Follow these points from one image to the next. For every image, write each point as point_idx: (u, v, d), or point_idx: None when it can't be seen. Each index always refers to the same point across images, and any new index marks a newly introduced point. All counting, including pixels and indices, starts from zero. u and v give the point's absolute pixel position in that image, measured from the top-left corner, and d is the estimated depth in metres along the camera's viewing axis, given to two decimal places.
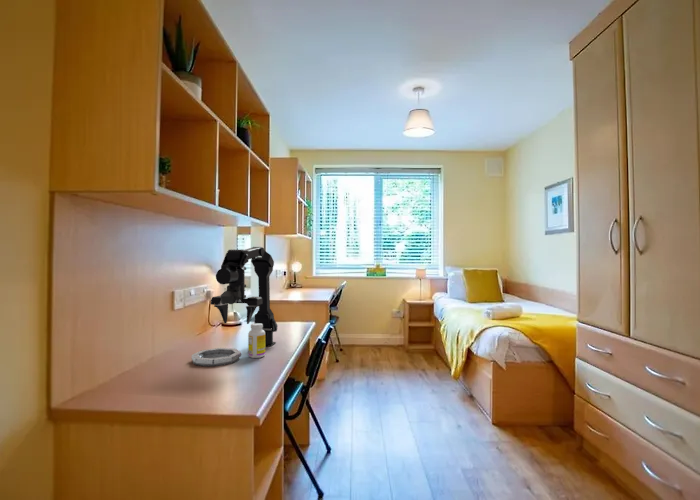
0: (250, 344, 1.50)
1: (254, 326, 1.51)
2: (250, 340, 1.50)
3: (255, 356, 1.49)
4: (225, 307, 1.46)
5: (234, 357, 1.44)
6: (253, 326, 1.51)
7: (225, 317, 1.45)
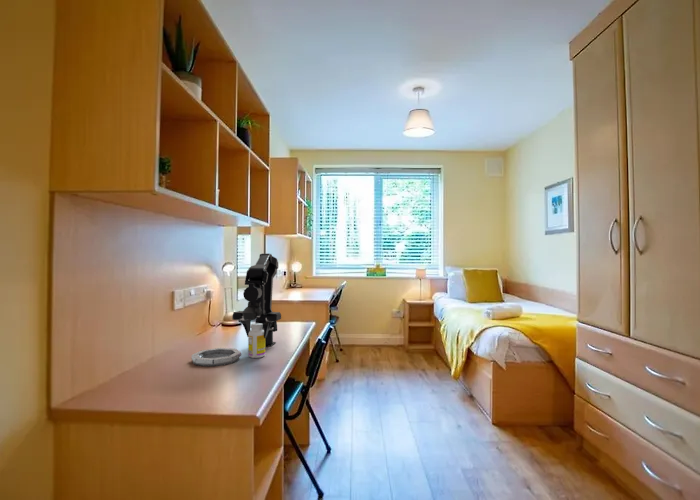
0: (250, 344, 1.50)
1: (254, 326, 1.51)
2: (250, 340, 1.50)
3: (255, 356, 1.49)
4: (248, 322, 1.54)
5: (234, 357, 1.44)
6: (253, 326, 1.51)
7: (248, 331, 1.53)
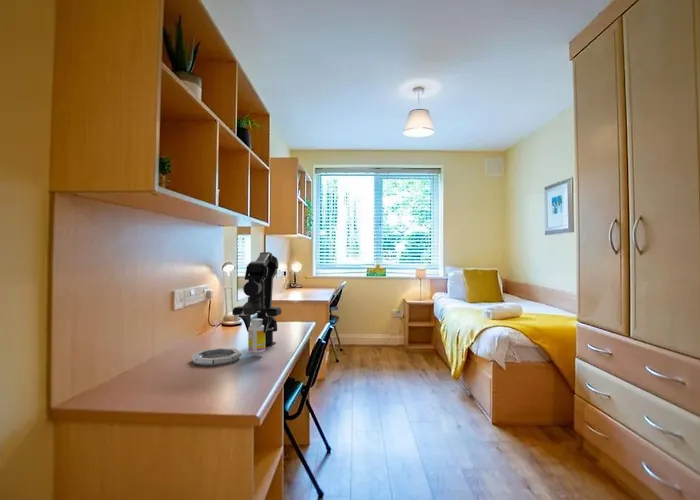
0: (250, 339, 1.50)
1: (254, 321, 1.50)
2: (250, 335, 1.50)
3: (255, 351, 1.49)
4: (248, 317, 1.54)
5: (234, 357, 1.44)
6: (253, 321, 1.51)
7: (248, 326, 1.53)
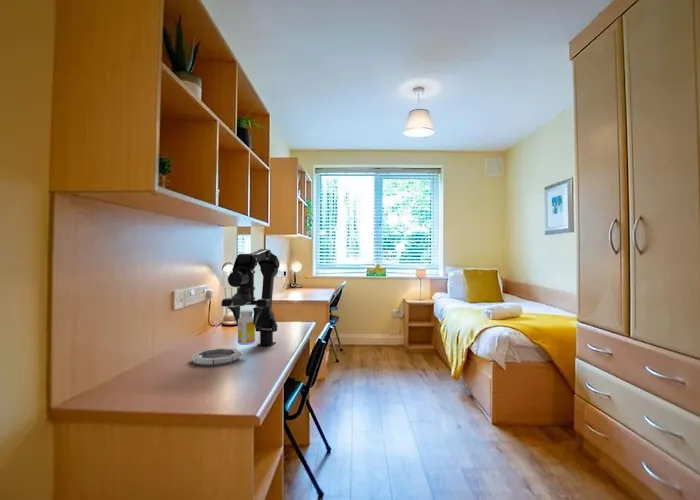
0: (239, 331, 1.48)
1: (244, 313, 1.49)
2: (239, 326, 1.48)
3: (244, 343, 1.48)
4: (238, 309, 1.53)
5: (234, 357, 1.44)
6: (243, 313, 1.49)
7: (238, 318, 1.52)
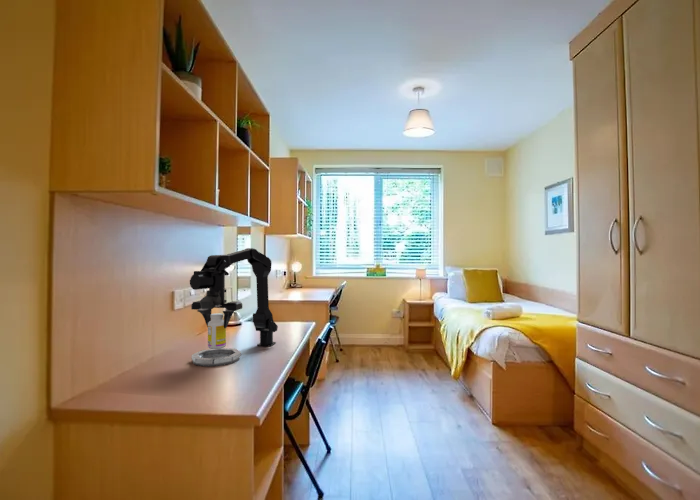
0: (209, 334, 1.45)
1: (213, 316, 1.45)
2: (209, 330, 1.45)
3: (214, 347, 1.44)
4: (208, 312, 1.49)
5: (234, 357, 1.44)
6: (212, 316, 1.45)
7: (208, 321, 1.48)
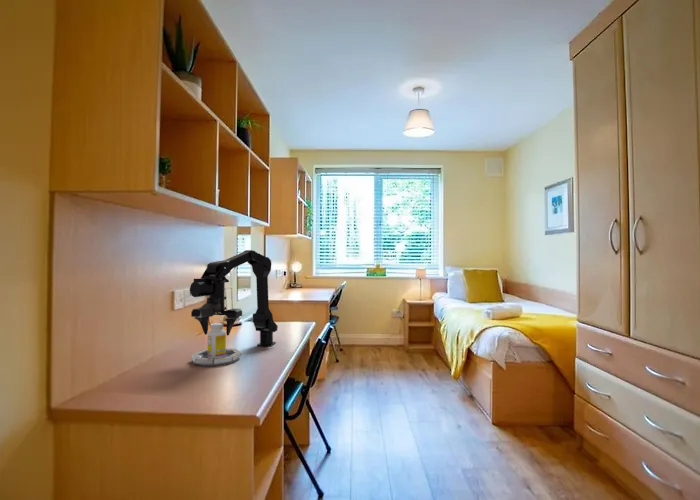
0: (209, 344, 1.45)
1: (213, 326, 1.45)
2: (209, 340, 1.45)
3: (214, 357, 1.44)
4: (206, 319, 1.49)
5: (234, 357, 1.44)
6: (212, 326, 1.45)
7: (205, 329, 1.48)
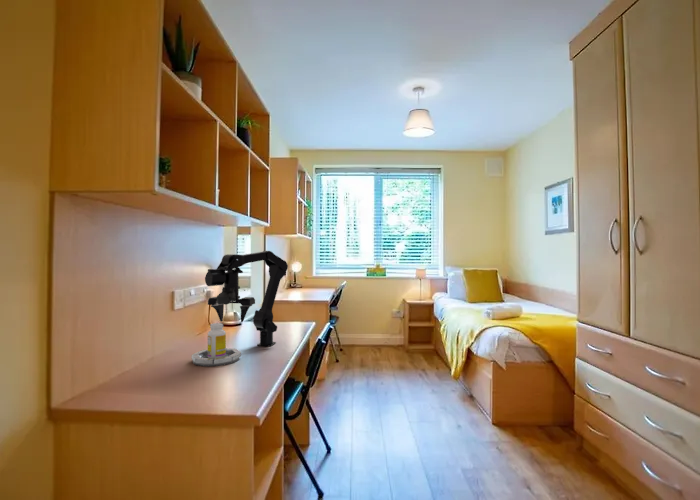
0: (209, 345, 1.45)
1: (213, 326, 1.45)
2: (209, 340, 1.45)
3: None
4: (221, 307, 1.60)
5: (234, 357, 1.44)
6: (212, 326, 1.45)
7: (221, 316, 1.59)
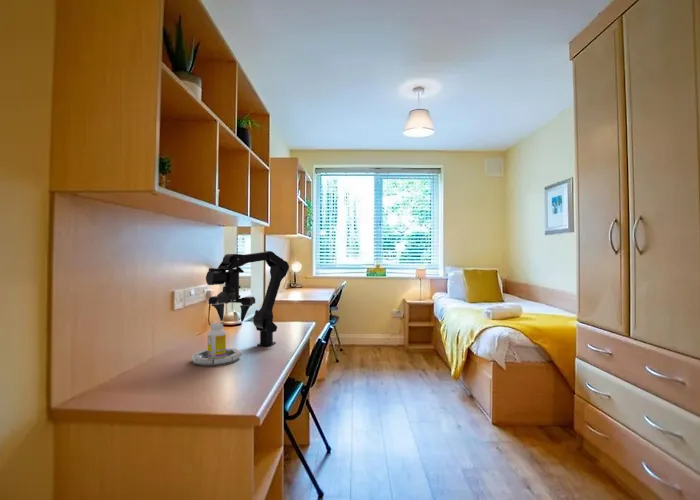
0: (209, 345, 1.45)
1: (213, 326, 1.45)
2: (209, 340, 1.45)
3: None
4: (221, 306, 1.61)
5: (234, 357, 1.44)
6: (212, 326, 1.45)
7: (221, 315, 1.60)
